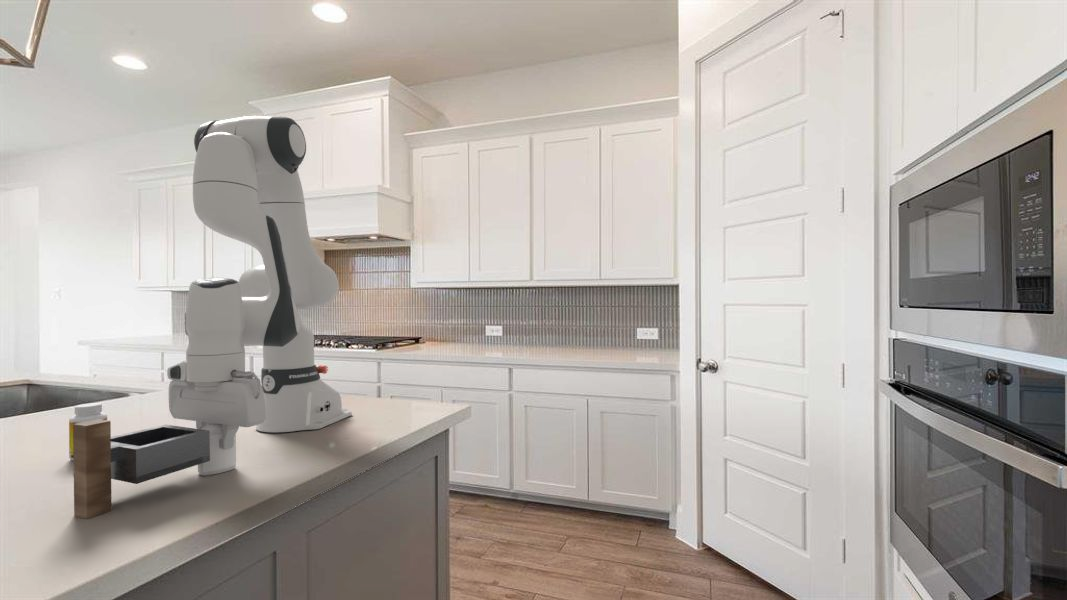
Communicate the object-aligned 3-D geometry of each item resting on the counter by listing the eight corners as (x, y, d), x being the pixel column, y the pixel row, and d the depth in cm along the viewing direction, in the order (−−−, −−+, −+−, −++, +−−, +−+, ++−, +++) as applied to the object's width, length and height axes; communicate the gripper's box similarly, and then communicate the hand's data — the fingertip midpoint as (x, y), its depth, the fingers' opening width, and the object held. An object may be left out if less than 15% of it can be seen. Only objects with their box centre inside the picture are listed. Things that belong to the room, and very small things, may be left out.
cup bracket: (166, 476, 87) (165, 401, 87) (210, 485, 83) (209, 406, 83) (58, 511, 73) (57, 421, 73) (104, 523, 69) (102, 428, 69)
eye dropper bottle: (232, 473, 88) (231, 404, 88) (195, 477, 86) (194, 407, 86) (238, 465, 92) (237, 400, 92) (202, 469, 90) (202, 402, 90)
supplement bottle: (66, 464, 94) (65, 409, 94) (72, 456, 98) (72, 404, 98) (105, 458, 97) (104, 405, 97) (109, 451, 102) (109, 400, 101)
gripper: (274, 369, 88) (275, 448, 89) (195, 364, 96) (196, 436, 96) (242, 374, 83) (243, 459, 83) (160, 369, 90) (161, 446, 90)
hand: (217, 447), depth 89 cm, fingers open, 3 cm apart
